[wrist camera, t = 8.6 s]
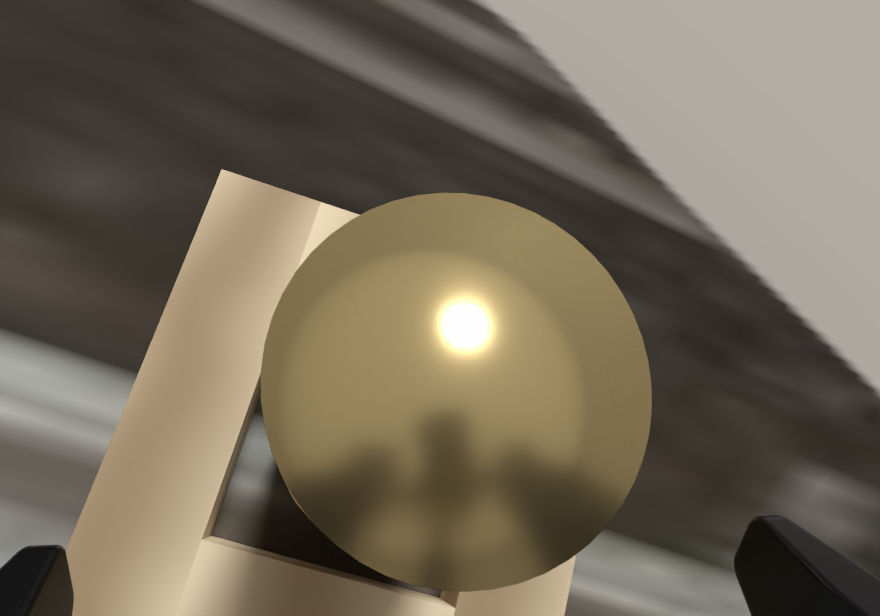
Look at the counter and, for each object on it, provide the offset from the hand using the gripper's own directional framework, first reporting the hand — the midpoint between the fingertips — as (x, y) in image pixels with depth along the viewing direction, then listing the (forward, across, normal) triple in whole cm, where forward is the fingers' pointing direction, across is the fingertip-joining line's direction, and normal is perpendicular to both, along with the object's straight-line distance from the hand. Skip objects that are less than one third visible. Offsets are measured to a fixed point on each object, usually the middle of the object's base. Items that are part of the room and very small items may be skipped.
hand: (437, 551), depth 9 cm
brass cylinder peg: (+9, 0, +6) cm, 11 cm away
